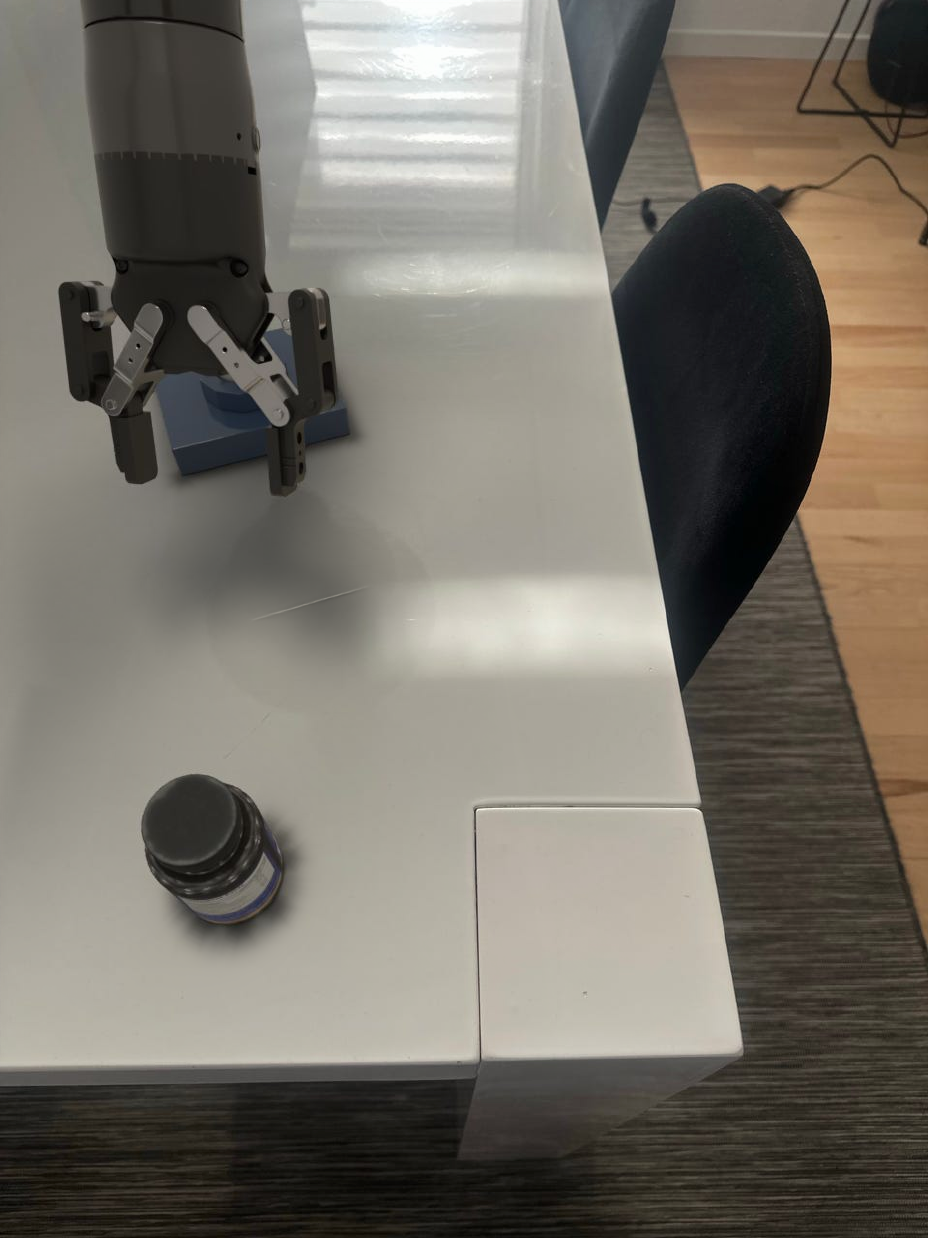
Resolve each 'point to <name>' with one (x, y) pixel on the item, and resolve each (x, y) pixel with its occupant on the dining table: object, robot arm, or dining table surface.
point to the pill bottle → (211, 849)
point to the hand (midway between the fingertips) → (213, 487)
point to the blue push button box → (231, 415)
